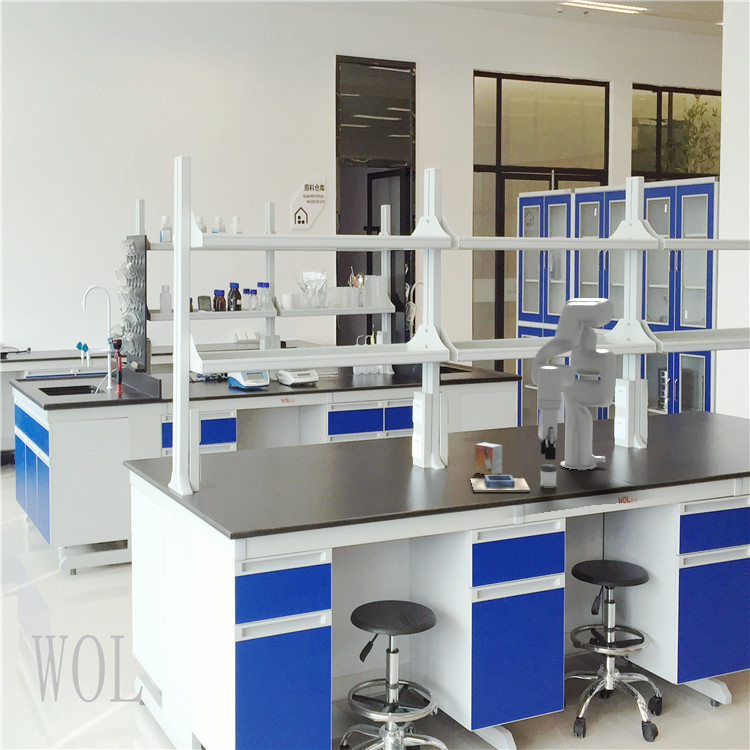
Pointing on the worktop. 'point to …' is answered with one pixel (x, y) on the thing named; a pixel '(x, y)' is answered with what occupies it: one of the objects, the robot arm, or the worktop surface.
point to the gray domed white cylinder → (548, 475)
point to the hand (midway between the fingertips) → (547, 456)
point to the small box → (488, 458)
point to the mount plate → (499, 483)
